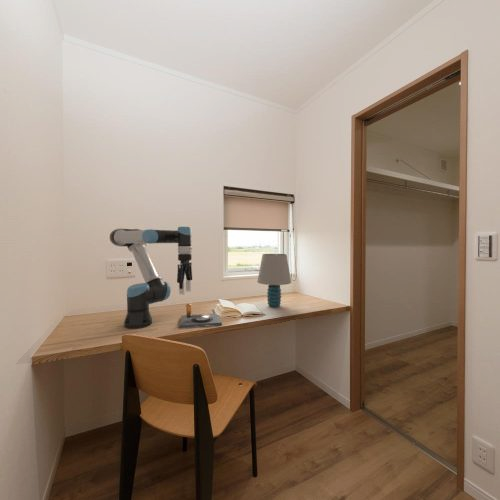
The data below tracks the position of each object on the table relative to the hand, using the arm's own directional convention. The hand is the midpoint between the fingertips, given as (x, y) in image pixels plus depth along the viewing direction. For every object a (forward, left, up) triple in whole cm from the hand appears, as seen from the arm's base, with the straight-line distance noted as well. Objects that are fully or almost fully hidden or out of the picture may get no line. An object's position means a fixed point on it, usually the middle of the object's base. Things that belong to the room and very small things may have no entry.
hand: (185, 292), depth 145 cm
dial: (+8, +5, -17) cm, 20 cm away
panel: (+9, +6, -19) cm, 22 cm away
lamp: (+64, +31, -19) cm, 73 cm away
